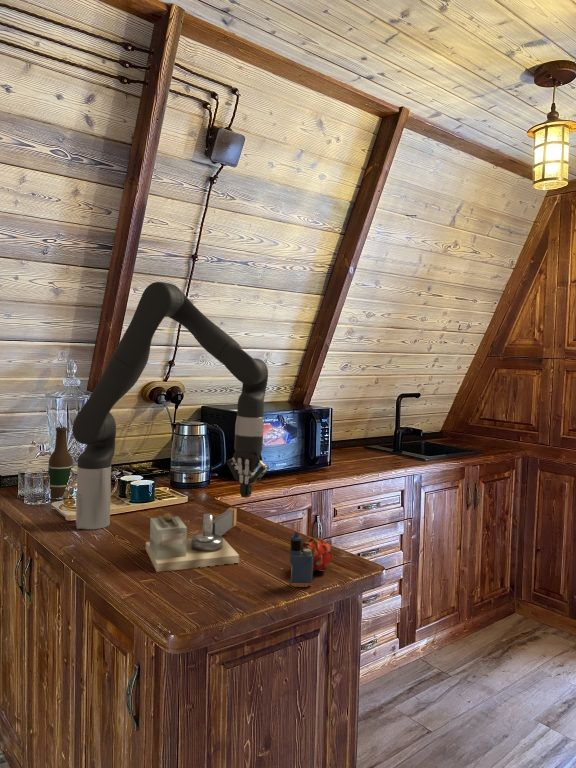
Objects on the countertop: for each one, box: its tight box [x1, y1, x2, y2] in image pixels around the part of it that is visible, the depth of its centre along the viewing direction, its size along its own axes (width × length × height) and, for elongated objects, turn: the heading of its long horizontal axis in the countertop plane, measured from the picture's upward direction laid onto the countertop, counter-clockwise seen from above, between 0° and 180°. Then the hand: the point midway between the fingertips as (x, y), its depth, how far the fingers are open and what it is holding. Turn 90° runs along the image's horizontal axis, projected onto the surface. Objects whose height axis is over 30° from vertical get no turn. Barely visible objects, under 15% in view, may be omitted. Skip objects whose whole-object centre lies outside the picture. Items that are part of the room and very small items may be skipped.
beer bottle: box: [47, 426, 74, 498], centre depth 199 cm, size 8×8×24 cm
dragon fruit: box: [301, 537, 334, 571], centre depth 142 cm, size 8×8×12 cm
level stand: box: [145, 512, 240, 573], centre depth 148 cm, size 20×16×11 cm
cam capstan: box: [190, 507, 238, 551], centre depth 157 cm, size 22×8×8 cm, turn 165°
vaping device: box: [289, 531, 314, 584], centre depth 132 cm, size 3×5×12 cm, turn 95°
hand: (245, 496), depth 159 cm, fingers closed
